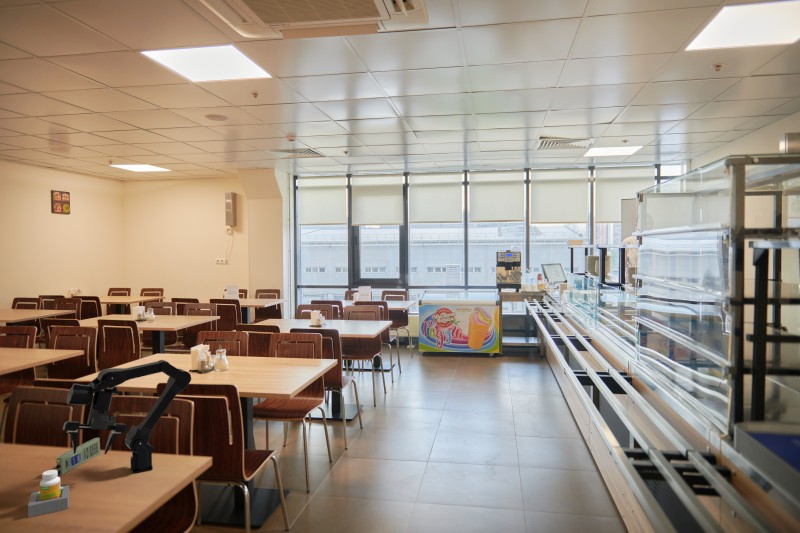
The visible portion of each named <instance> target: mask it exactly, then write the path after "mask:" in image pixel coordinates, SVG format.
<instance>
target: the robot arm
mask: <svg viewBox="0 0 800 533" xmlns="http://www.w3.org/2000/svg"><path fill="white" fill-rule="evenodd" d="M158 373H163V374H165V375H166V376H168V379H167V381H166V384H165V388H164V390H163V391H162V393H161V394H160V396H159V397H158V398H157V400H156V401H155V403H154V404H153V405H152V407H151V408H150V410H149V411H148V412H147V414H146V415H145V417H144V418H143V420H142V421H141V423H138V424H137V425H136V426H135V425H134V424H133V425H131V426H130V429H129V431H128V425H127V424H126V423H116V419H117V415H116V414H109V413H110V410H111V409H110V407H111V404H112V398H113V394H114V395H115V394H117V395H119V394H120V391H119V389H118V388H117V386H120V385H121V384H124V383H126V382H127V381H130V380H135V379H137V378H142V377H146V376H151V375H154V374H158ZM191 381H192V376H191V373H190V372H189V371H186V370H184V369H182V368H177V367H175V366H173V365H172V364H171V363H170V362H168V361H167V360H164V359H159V360H158V361H152V362H148V363H143V364H139V365H136V366H130V367H126V368H125V367H123V368H121V367H120V368H117V367H115V368H104V369H101V370H100V371H99V372H98V374H97V375H96V377H95V378H93V380H91V381H90V382H89V383H88V384H80V383H72V386H71V387H70V389H69V391H68V392H67V396H66V404H67V405H76V406H77V405H78V406H87V405H89V404H90V403H91V405H90V411H89V413H88V418H87V423H80V422H79V421H69V420H68V421H65V422H64V423H63V426H62V430H63V431H66V433H67V434H69V435H70V439H71V444H72V449H73V453H74V454H75V453H76V449H77V447H78V438H79V432H78V431H79V430H87V431H88V430H90V431H111V432H109V434H108V438H107V441H106V445H105V449H104V455H107V454H108V451H109V450H110V448H111V447H112V445H113V443H114V442H115V440H116V439H117V438H118V437H119V436H122V435H123V434H125V438H124V444H125V446H126V447H128V448H129V450H130V451H132V452H131V456H130V470H131V472H132V474H137V473H141V472H142V473H143V472H146V471H151V470H154V469H153V458H152V457H153V456H152V454H153V452H154V450H155V447H153V445H151V444H150V443H149V442H150V438H151V435H152V431H153V429H154V428H155V426H156V425H157V423H158V422H159V420H161V417H162V416H163V414H164V413H165V412H166V410H167V409H168V407H169V406H170V405H171V403H172V401H174V399H175V397H176V396H177V395H178V394H180V393H181V392H183V391H184V390H185V388H186V387H187V386H188V385H189V384H190V383H191Z"/></svg>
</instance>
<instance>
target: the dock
mask: <svg viewBox="0 0 800 533" xmlns="http://www.w3.org/2000/svg"><path fill="white" fill-rule="evenodd" d="M70 495H71V493H70V485H69V484H68V485H63V486H61V497H59V498H54V499H49V500H44V501H40V490H39V491H33V492H31V495H30V498H29V501H28V505H27V513H28V514H27V516H28V518H33V517H37V516H42V515H46V514H51V513H56V512H61V511H66V510H68V509H69V503H70Z"/></svg>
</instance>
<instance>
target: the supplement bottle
mask: <svg viewBox="0 0 800 533" xmlns="http://www.w3.org/2000/svg"><path fill="white" fill-rule="evenodd" d="M41 478H42V480H40V482H39V491H40V501H44V500H49V499H54V498H59V497H61V487H62V486H61V477H60V476H59V475H58V472H57V469H49V470H45V471H44V472H42V474H41Z"/></svg>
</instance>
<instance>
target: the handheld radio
mask: <svg viewBox="0 0 800 533" xmlns="http://www.w3.org/2000/svg"><path fill="white" fill-rule="evenodd" d="M100 455H101V443H100V437H94V438H92V439H90V440H87V441H86V442H84V443H81V444H80V445H77V449H76V453H75V454H74V453H73V448H72V449H70V450H68V451H67V452H64V453H62V454H59V455H58V456H56V457H55V463H56V466H55V470H57V472H58V475H57V476H59V475H61V476H63V475H65V474H67V473H69V472H70V471H72V470H74V469H76V468H78V467H80V466H81V465H83V464H84V463H86V462H88V461H90V460H92V459H93V458H95V457H97V456H100Z"/></svg>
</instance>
